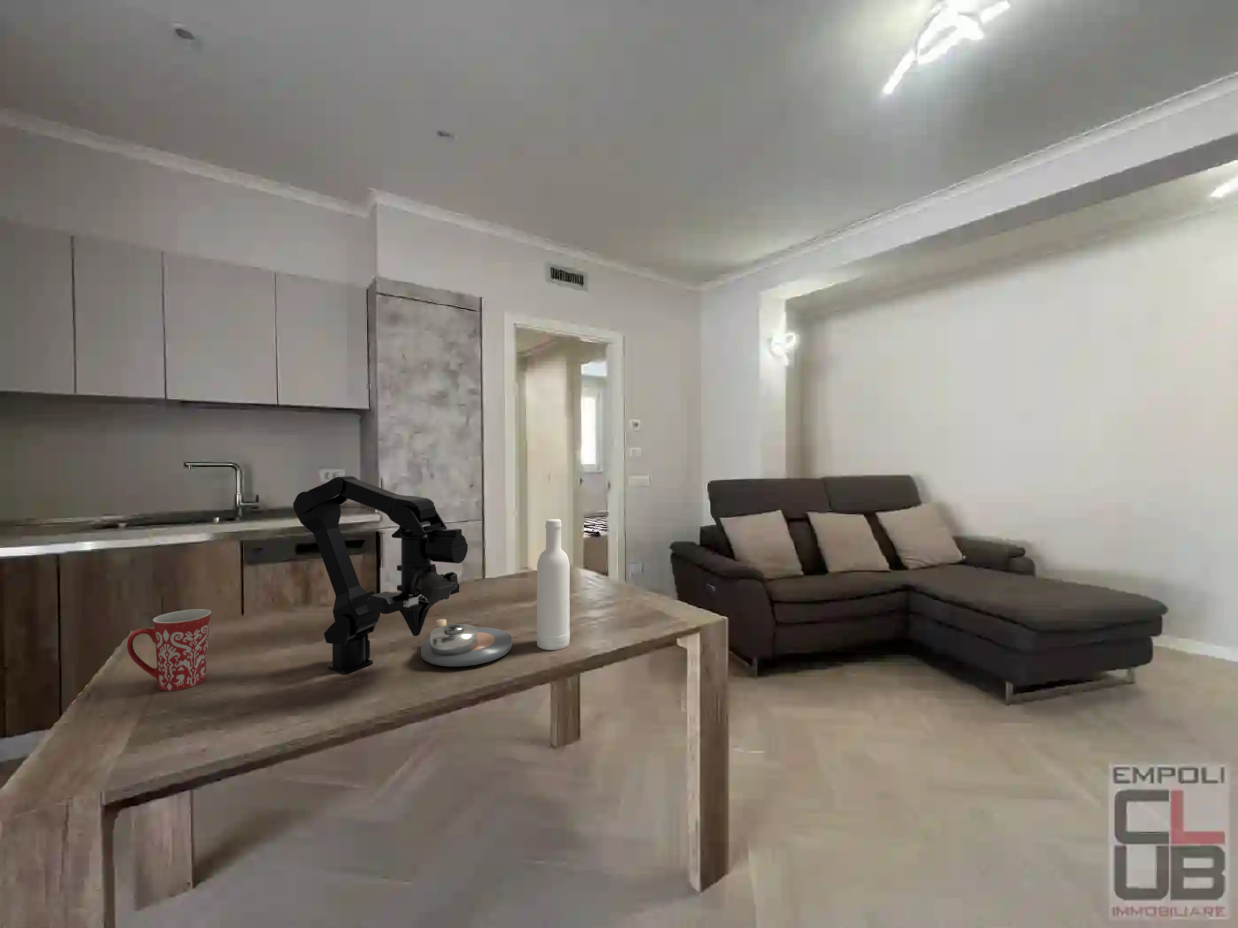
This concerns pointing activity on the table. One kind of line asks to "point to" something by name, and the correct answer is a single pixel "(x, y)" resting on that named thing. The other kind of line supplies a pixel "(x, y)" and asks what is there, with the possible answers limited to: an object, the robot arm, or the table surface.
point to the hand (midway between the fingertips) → (416, 635)
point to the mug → (177, 648)
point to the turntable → (488, 649)
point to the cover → (453, 639)
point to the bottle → (553, 591)
